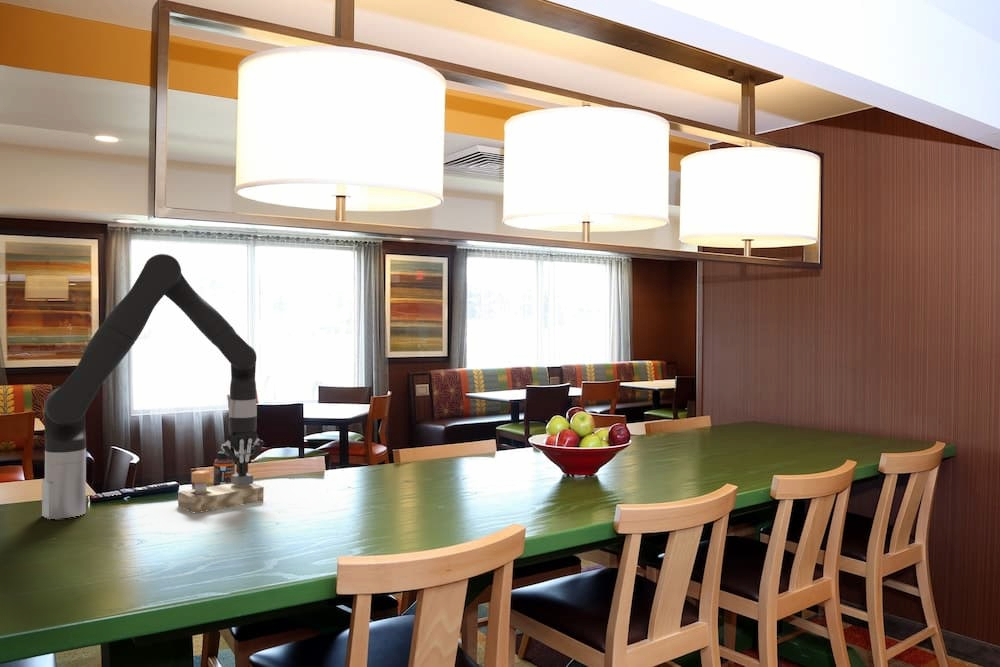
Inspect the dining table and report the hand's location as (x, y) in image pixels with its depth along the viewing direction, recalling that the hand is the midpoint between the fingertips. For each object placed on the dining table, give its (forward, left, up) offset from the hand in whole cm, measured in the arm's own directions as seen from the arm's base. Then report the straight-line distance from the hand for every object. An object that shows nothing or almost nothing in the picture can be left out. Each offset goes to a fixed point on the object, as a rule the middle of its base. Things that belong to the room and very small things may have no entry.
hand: (242, 475), depth 212 cm
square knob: (0, 0, -6) cm, 6 cm away
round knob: (-12, 0, -3) cm, 12 cm away
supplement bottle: (+2, +15, -7) cm, 17 cm away
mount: (-6, 0, -7) cm, 9 cm away
